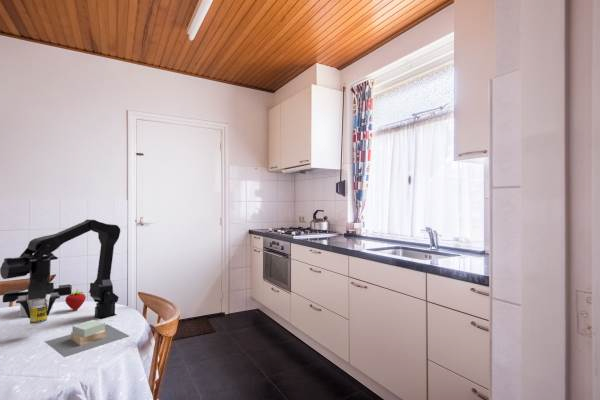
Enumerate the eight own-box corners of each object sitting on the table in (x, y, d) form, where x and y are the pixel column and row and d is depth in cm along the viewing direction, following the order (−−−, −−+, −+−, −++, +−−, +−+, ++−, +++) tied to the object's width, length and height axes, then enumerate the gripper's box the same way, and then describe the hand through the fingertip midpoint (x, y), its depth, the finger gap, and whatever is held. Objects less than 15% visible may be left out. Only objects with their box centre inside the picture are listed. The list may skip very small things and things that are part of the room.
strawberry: (64, 310, 140) (65, 288, 140) (84, 307, 145) (85, 285, 145) (65, 314, 136) (66, 291, 136) (86, 310, 140) (87, 288, 141)
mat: (107, 325, 124) (107, 324, 124) (129, 337, 114) (129, 336, 114) (44, 342, 108) (44, 341, 108) (64, 358, 98) (64, 357, 98)
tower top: (92, 326, 116) (92, 319, 116) (104, 330, 113) (104, 323, 113) (72, 333, 109) (72, 326, 109) (84, 337, 106) (84, 329, 106)
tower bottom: (95, 332, 117) (96, 325, 117) (105, 337, 112) (105, 330, 112) (70, 339, 110) (71, 332, 110) (80, 345, 105) (80, 338, 105)
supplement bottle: (37, 325, 109) (37, 301, 109) (26, 324, 110) (26, 300, 110) (50, 320, 114) (51, 297, 114) (40, 319, 115) (40, 296, 115)
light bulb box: (38, 308, 142) (39, 284, 142) (53, 308, 143) (54, 284, 143) (19, 316, 131) (20, 291, 132) (35, 316, 132) (36, 291, 132)
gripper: (-1, 281, 100) (-3, 329, 100) (71, 275, 111) (69, 318, 111) (6, 274, 110) (5, 319, 109) (72, 269, 120) (71, 309, 120)
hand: (38, 316), depth 112 cm, fingers closed on supplement bottle, 5 cm apart
